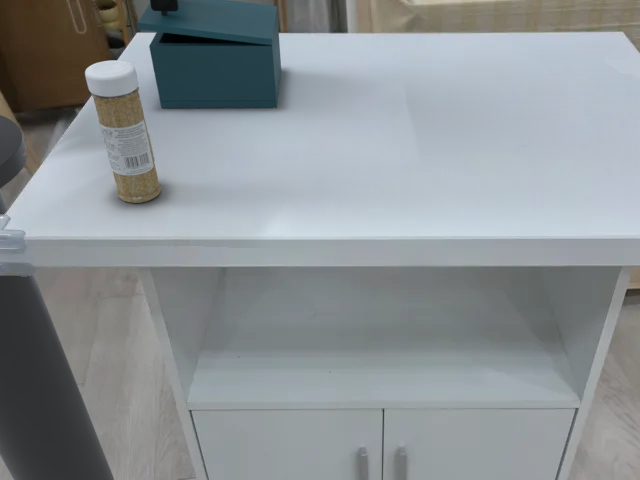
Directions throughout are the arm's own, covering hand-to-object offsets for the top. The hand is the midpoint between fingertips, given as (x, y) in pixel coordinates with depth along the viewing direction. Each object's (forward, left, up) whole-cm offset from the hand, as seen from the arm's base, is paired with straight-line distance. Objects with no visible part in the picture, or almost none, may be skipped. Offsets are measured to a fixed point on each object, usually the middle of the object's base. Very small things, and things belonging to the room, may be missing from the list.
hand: (169, 0), depth 85 cm
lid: (+5, 0, -2) cm, 6 cm away
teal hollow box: (+5, 0, -11) cm, 13 cm away
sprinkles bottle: (-1, -28, -11) cm, 30 cm away
